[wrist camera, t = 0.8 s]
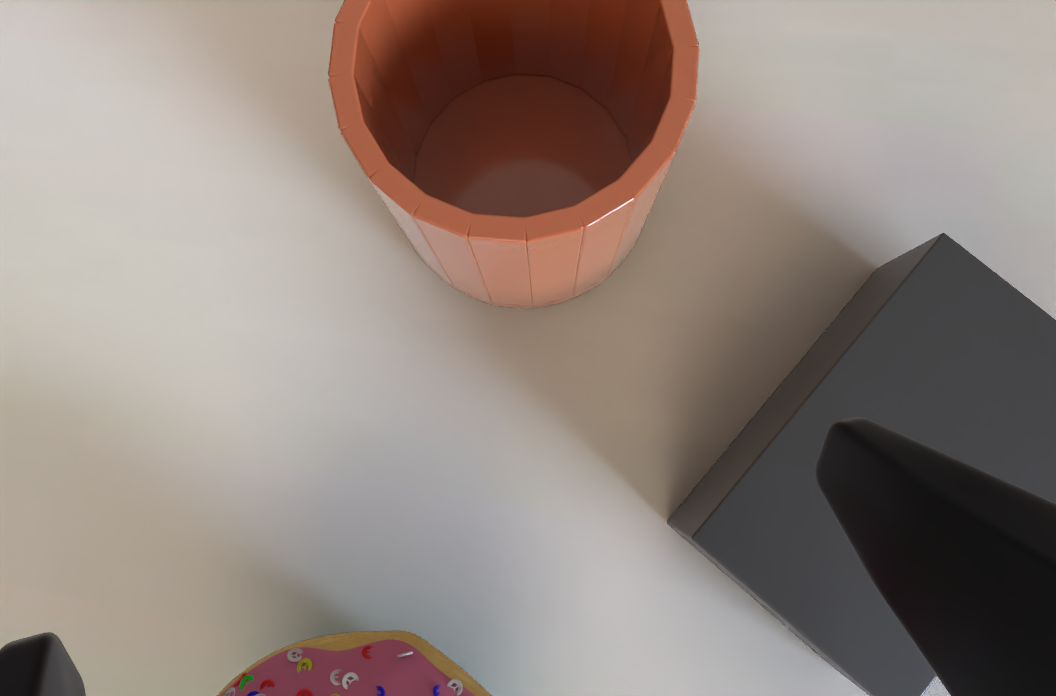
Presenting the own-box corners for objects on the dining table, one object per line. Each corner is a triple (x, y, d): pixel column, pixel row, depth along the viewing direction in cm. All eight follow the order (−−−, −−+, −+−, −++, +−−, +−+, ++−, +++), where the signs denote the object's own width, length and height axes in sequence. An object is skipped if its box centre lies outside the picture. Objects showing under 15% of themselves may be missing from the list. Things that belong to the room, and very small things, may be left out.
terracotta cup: (700, 172, 24) (774, 39, 16) (536, 360, 24) (532, 317, 16) (511, 20, 25) (494, -177, 17) (349, 199, 24) (253, 81, 16)
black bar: (1052, 405, 23) (1156, 397, 19) (840, 672, 22) (903, 722, 18) (877, 266, 24) (944, 231, 20) (665, 522, 23) (690, 538, 19)
